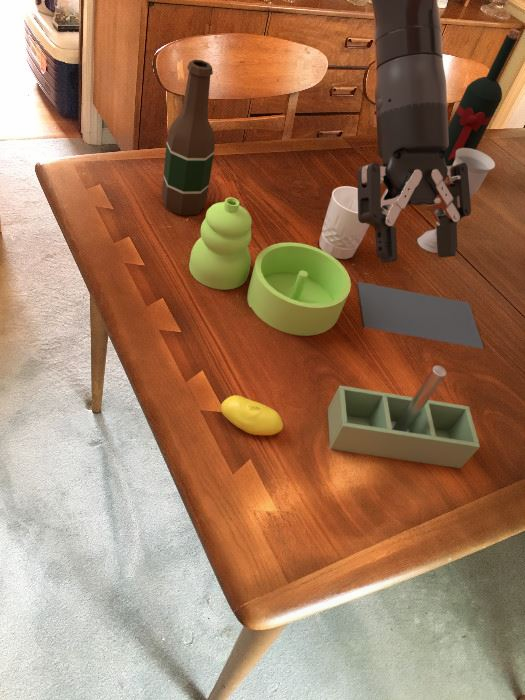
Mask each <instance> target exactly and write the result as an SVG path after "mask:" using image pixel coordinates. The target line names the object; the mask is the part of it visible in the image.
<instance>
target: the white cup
mask: <svg viewBox="0 0 525 700" xmlns="http://www.w3.org/2000/svg"><path fill="white" fill-rule="evenodd" d="M369 227H370V225H369V224H367V223H360V222H359V220H358V187H354V186H349V185H348V186H347V185H344V186H338V187H336V188H334V189H333V190H332V192H331V197H330V200H329V203H328V206H327V210H326V213H325V217H324V222H323V223H322V229H321V233H320V236H319V240H318V244H319V245H318V246H319V248H320V250H322V251H324V252H326V253H328V254H329V255H331V256H333V257H334V258H335V259H336V260H348V259H350V258H351V259H352V258H353V257H354V256H355V254H356V252H357V250H358V249H359V246H360V245H361V243H362V241H363V239H364V237H365V235H366V233H367V231H368V229H369Z"/></svg>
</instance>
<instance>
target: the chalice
mask: <svg viewBox="0 0 525 700" xmlns="http://www.w3.org/2000/svg"><path fill="white" fill-rule="evenodd" d="M460 163H466V164H467V167H468V178H469V191H470V199H471V198H472V197H473V196H474V195H475V194H476V193H477V192H479V189H480V187H481V186H482V184H483V182H484V180H485V179H486V177H487V175H488V173H489V172H490V171H491V170H493V169H494V168H495V167H496V162H495V161H494V159H492V158H491V157H490V156H489V155H488V154H486V153H484V152H482V151H481V150H477V149H476V150H475V149H470V148H460V149H458V150H456V159H455V161H454V163H453V165H456V164H460ZM457 203H458V207H460V200H459V196H458V197H457ZM444 213H445V212H444ZM439 225H440V224H438V222H437V221H436V226H439ZM417 243H418V244H417V245H418V246H420V248H422V249H423V250H425V251H427V252H429V253H434V254H438V253H437V232H436V228H434V229H429V230H427V231H425V232H424V233H423V234H422V235H421V236H419V237H418V238H417Z"/></svg>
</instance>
